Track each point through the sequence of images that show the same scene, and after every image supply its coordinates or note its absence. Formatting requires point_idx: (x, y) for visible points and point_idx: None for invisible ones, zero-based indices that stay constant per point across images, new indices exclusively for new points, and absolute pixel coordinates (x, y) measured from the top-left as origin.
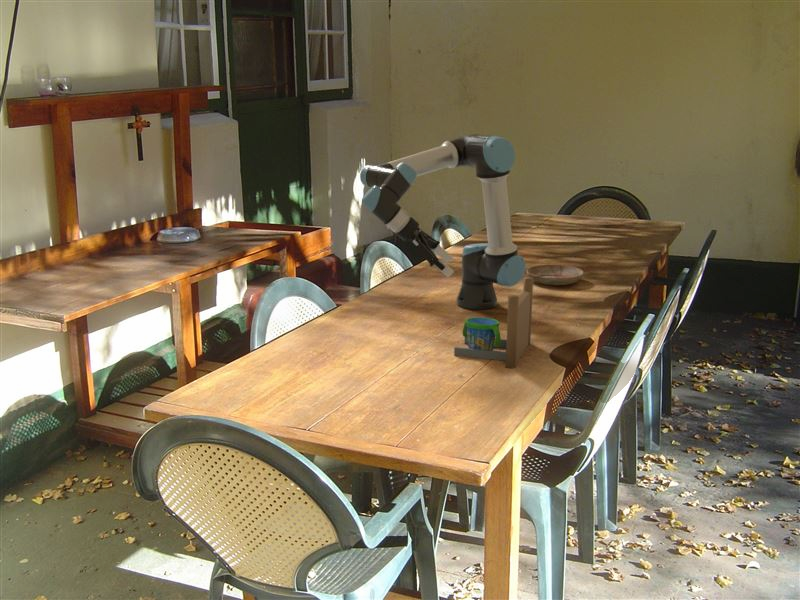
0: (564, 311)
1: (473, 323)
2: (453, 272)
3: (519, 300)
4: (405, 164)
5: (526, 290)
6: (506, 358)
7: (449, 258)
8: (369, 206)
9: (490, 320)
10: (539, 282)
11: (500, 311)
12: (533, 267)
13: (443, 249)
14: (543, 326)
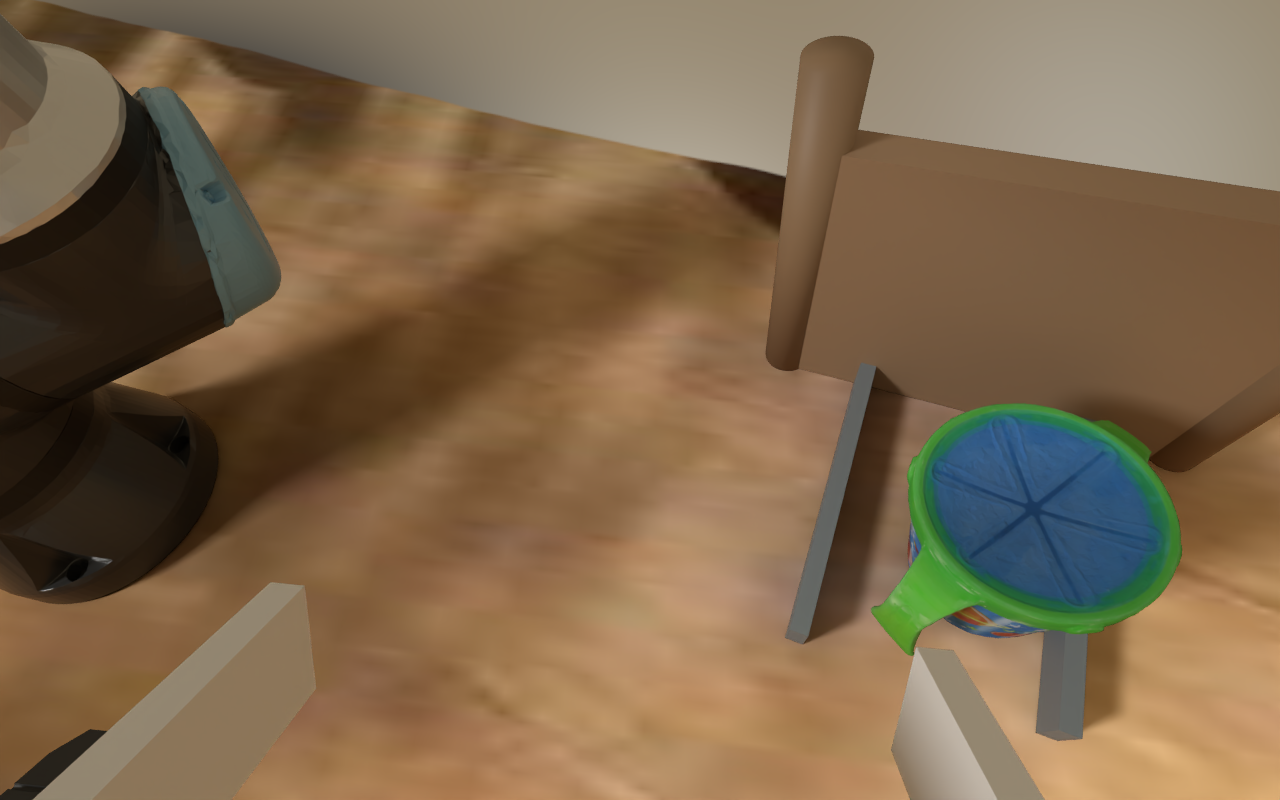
0: (357, 191)
1: (1168, 572)
2: (951, 659)
3: (1142, 188)
4: None
5: (854, 140)
6: (1216, 451)
7: (284, 646)
8: None
9: (960, 449)
10: None
11: (274, 402)
12: None
13: (120, 762)
14: (537, 269)
